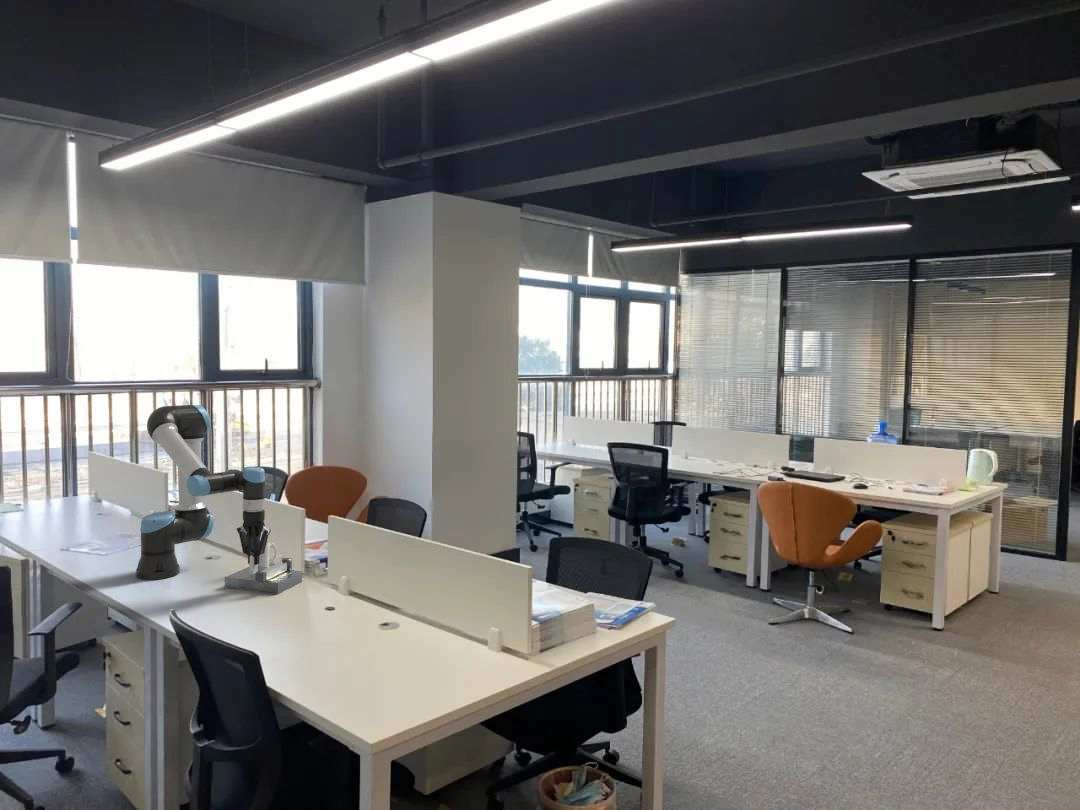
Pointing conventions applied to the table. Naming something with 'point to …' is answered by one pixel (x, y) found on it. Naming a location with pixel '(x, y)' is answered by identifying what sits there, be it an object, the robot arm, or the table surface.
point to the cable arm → (273, 570)
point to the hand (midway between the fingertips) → (253, 572)
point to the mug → (267, 556)
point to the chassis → (272, 585)
